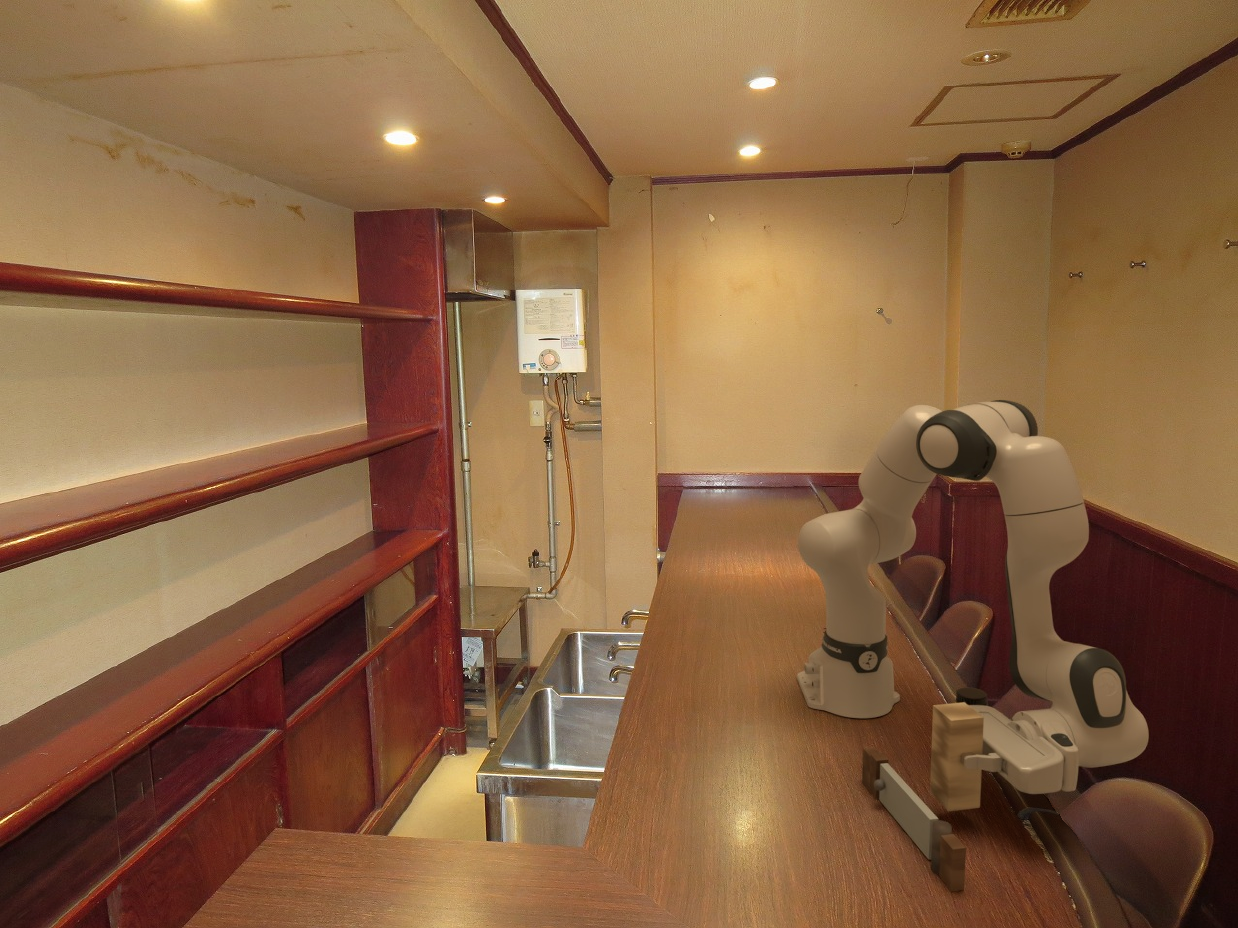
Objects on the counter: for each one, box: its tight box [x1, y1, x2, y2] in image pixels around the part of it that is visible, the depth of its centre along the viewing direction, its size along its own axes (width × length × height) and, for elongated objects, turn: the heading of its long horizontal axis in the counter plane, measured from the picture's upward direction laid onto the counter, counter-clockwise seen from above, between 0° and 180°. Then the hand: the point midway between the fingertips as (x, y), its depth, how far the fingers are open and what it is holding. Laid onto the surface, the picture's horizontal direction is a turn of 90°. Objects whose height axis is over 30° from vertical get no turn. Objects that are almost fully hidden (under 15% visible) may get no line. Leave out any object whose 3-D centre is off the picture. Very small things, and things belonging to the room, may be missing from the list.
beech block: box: [929, 702, 984, 812], centre depth 120 cm, size 5×5×14 cm
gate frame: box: [861, 746, 967, 892], centre depth 119 cm, size 27×2×6 cm, turn 8°
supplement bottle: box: [955, 687, 988, 706], centre depth 138 cm, size 7×7×12 cm
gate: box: [874, 762, 939, 861], centre depth 119 cm, size 15×3×6 cm, turn 8°
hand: (950, 749), depth 120 cm, fingers closed on beech block, 5 cm apart
